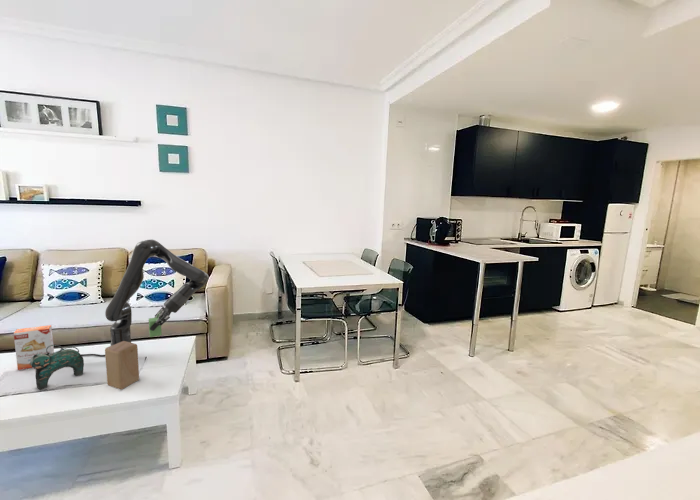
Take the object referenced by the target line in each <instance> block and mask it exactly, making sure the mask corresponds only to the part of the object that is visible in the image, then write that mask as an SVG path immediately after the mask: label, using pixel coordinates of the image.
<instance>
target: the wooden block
mask: <svg viewBox="0 0 700 500" xmlns="http://www.w3.org/2000/svg"><path fill="white" fill-rule="evenodd" d="M104 355H105V356H104V358H105V368H106V369H105V370H106V383H107V386H109V387H111V388H115V389H118V390H123V389H125V388H127V387H130V386H131V385H133V384H135V383H136V382H138V381H139V380H140V368H139V367H140V366H139V351H138V344H137V343H134V342H131V343H130V342H126V341H122V342H119V343H117V344H115V345H112V346H111V345H110V346H107V347H105V348H104Z"/></svg>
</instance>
